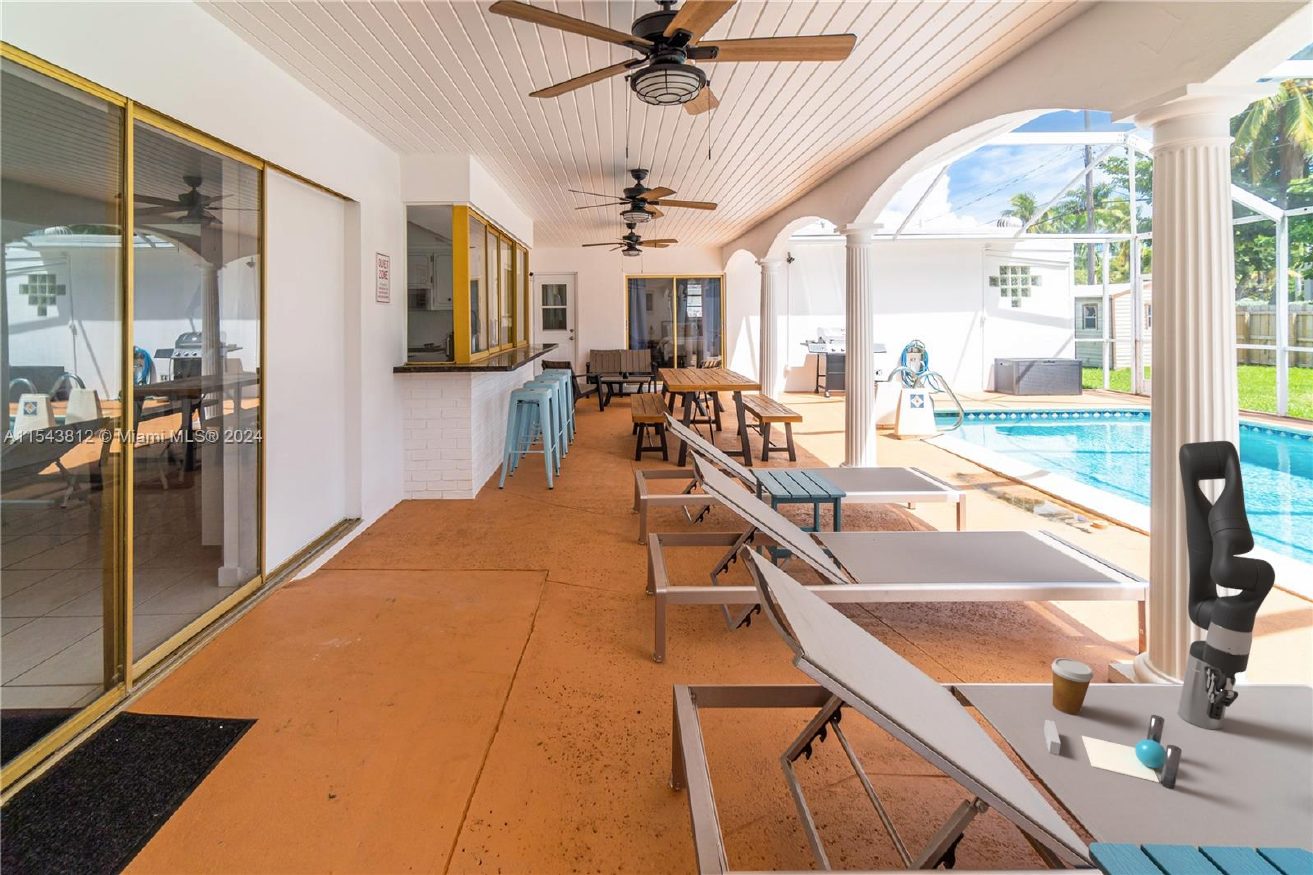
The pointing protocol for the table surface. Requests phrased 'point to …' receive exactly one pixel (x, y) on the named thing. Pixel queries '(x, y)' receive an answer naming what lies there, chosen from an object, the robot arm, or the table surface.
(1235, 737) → the table surface
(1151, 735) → the post
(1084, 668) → the disposable coffee cup
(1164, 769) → the post
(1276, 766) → the table surface
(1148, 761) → the ball
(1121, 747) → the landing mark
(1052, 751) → the wall
